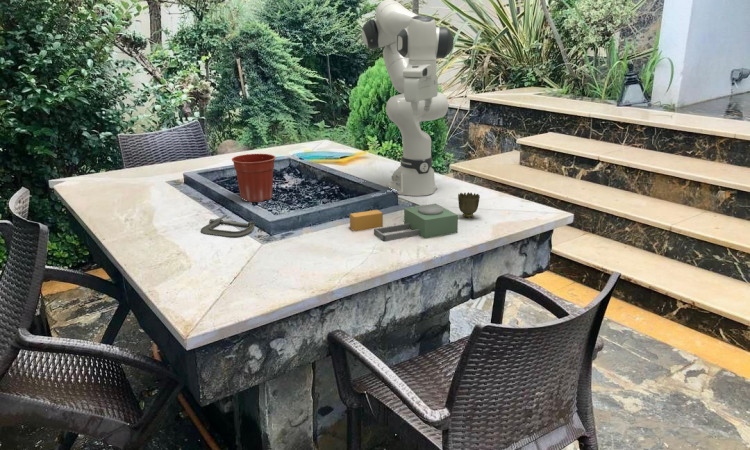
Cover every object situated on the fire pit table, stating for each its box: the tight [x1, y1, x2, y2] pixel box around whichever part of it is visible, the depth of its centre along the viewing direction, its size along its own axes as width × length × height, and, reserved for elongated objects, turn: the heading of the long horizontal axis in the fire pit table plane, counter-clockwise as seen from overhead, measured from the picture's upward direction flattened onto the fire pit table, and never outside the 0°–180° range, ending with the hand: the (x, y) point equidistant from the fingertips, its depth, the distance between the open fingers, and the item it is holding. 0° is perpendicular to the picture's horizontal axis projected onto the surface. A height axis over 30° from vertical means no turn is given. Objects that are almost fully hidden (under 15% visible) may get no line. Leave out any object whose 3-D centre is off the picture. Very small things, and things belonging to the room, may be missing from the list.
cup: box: [457, 191, 480, 219], centre depth 199 cm, size 8×7×8 cm
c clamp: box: [200, 215, 256, 239], centre depth 192 cm, size 20×17×3 cm
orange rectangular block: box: [349, 209, 384, 232], centre depth 190 cm, size 4×10×5 cm, turn 115°
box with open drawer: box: [373, 203, 459, 242], centre depth 185 cm, size 14×25×7 cm, turn 115°
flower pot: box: [231, 153, 277, 203], centre depth 222 cm, size 16×16×16 cm
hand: (421, 113), depth 187 cm, fingers open, 8 cm apart
